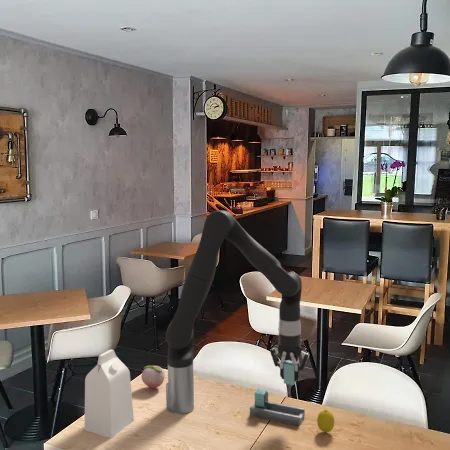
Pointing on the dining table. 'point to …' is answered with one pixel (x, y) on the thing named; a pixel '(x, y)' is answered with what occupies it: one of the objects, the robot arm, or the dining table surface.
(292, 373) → the block
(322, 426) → the lemon
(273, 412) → the rail
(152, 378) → the decorative fruit
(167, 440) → the dining table surface
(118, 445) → the dining table surface
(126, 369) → the milk
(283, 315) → the robot arm
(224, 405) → the dining table surface
